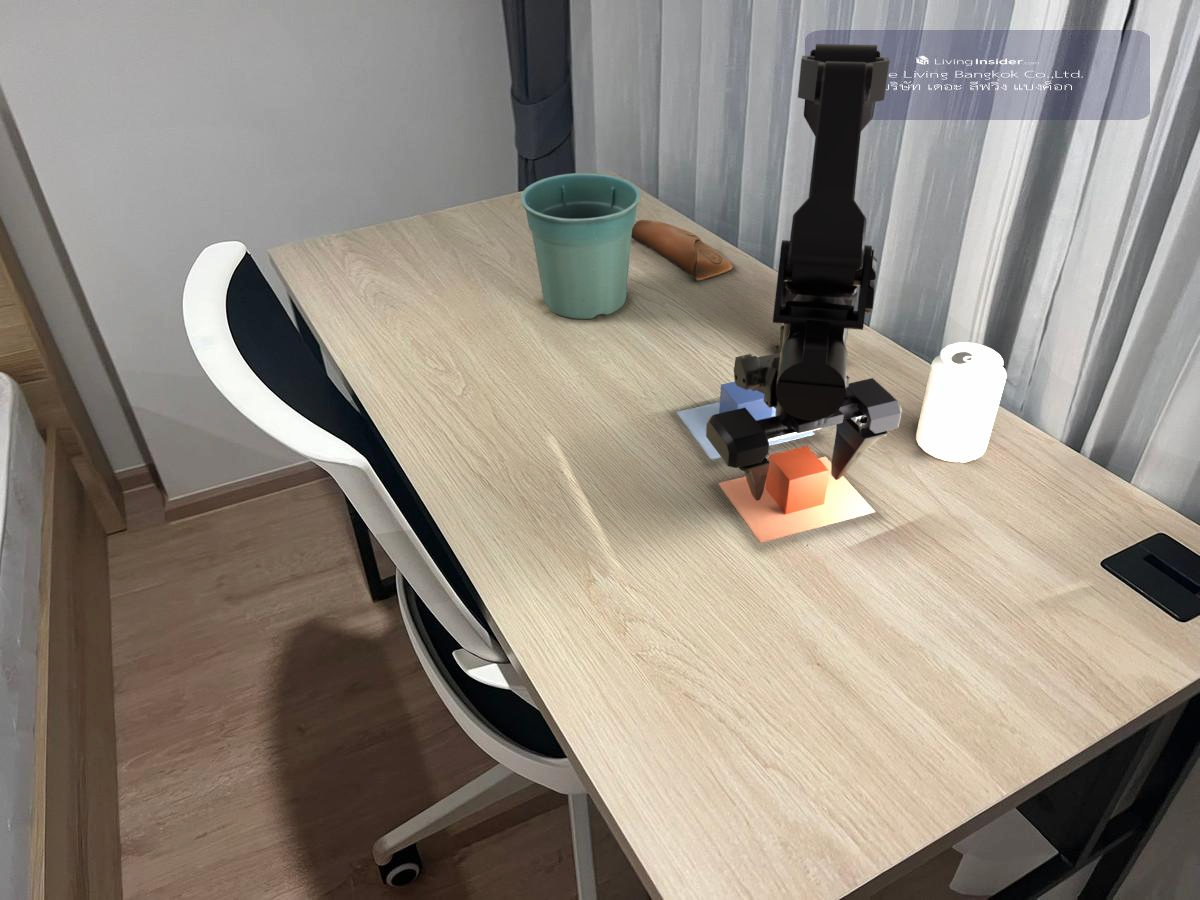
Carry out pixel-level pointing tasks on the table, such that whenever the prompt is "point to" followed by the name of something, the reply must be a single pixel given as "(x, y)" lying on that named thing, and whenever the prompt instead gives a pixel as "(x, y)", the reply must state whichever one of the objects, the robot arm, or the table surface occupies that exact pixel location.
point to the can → (961, 402)
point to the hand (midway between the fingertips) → (795, 487)
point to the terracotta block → (796, 479)
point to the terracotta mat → (776, 524)
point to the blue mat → (698, 422)
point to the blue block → (743, 401)
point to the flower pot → (582, 240)
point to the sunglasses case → (681, 249)
